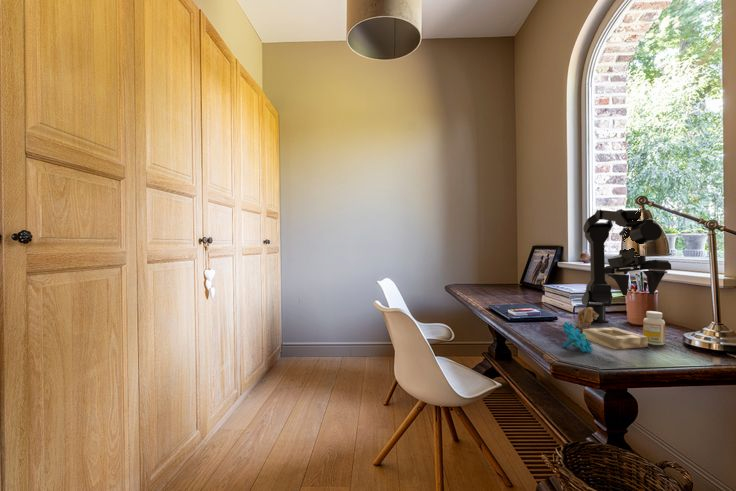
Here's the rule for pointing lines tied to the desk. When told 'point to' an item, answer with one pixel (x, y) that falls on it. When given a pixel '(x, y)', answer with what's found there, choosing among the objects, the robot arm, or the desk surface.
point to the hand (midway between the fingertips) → (637, 295)
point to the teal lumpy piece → (576, 338)
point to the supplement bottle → (654, 328)
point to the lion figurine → (586, 317)
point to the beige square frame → (616, 338)
